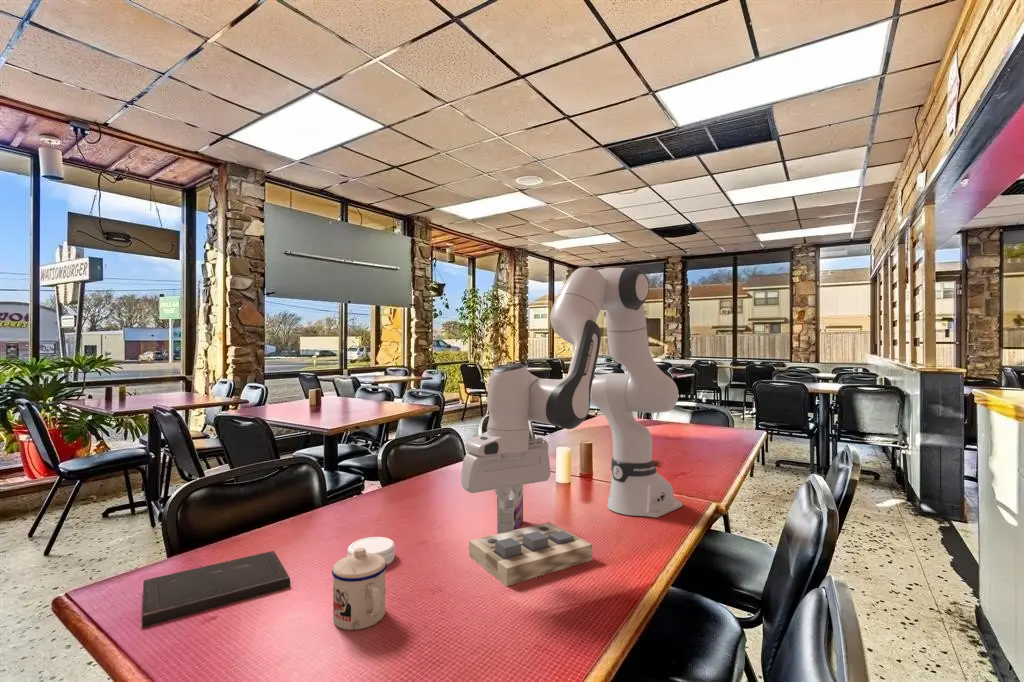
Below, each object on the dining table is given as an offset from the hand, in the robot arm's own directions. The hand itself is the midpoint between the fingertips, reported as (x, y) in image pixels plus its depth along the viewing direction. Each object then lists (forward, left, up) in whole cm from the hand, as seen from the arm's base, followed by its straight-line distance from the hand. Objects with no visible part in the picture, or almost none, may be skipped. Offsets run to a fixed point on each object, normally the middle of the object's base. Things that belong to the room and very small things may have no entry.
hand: (507, 507), depth 102 cm
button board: (-7, -2, -13) cm, 15 cm away
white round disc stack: (+23, -20, -14) cm, 33 cm away
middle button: (-7, 0, -10) cm, 13 cm away
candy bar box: (-13, -20, -13) cm, 28 cm away
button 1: (0, 0, -10) cm, 11 cm away
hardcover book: (+52, -23, -14) cm, 58 cm away
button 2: (-14, 0, -12) cm, 18 cm away
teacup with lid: (+31, +3, -13) cm, 34 cm away
